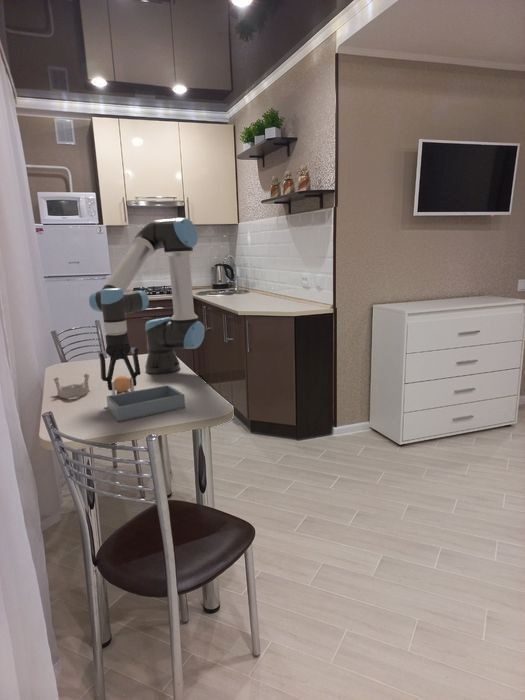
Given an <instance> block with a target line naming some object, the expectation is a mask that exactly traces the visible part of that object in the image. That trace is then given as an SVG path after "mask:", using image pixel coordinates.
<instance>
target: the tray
mask: <svg viewBox="0 0 525 700" xmlns="http://www.w3.org/2000/svg"><path fill="white" fill-rule="evenodd" d="M115 394H116V395H112V394H111V395H107V396H106V402H107V403H106V404H107V407H108V408H107V409H108V411H109V412H110V414H111V415H112V416H113V417H114V418H115V420H116V421H117V422H118V423H122V422H127V421H131V420H134V419H140V418H145V417H149V416H153V415H159V414H163V413H166V412H168V413H169V412H173V411H178V410H181V409H182V410H183V409H185V408H186V402H185V394H184V393H182V391H179V390H178V389H177V388H175V387H174V386H172V385H170V384H165V385H159V386H154V387H149V388H144V389H139V390H134V391H132V392H130V391H129V392H127V393H121V394H117V393H115Z"/></svg>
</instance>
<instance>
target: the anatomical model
mask: <svg viewBox="0 0 525 700" xmlns="http://www.w3.org/2000/svg"><path fill="white" fill-rule="evenodd" d="M83 377H84V381H83V383H82V382H81V383H75V384H69V385H66V386H64V385H62V386H61V384H60V382H59V377H57V376H56V377H54V378H53V379H52V381H54V383H55V387H56V390H57V397H60V398H61V399H67V400H68V399H74V398H81V397H84V396H85V395H86V394H89V392H91V390H90V387H89V377H90V374H88V373H87V372H86V373H85V374H84V375H83Z"/></svg>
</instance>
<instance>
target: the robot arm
mask: <svg viewBox="0 0 525 700" xmlns="http://www.w3.org/2000/svg"><path fill="white" fill-rule="evenodd" d="M198 240H199V237H198V231H197V228H196V226H195V224H194V223H193V221H192V220H190V219H189V218H186V217H173V218H165V219H155V220H152V221H150V222H149V223H147V224H146V225H145V226H144V227H142V228H141V229H140V230H139V231H138V232H137V233H136V235H135V236H134V237H133V239H132V241H131V242H132V245H131V247H130V248H129V249H128V251H127V253H126V254H125V255H124V256H123V258H122V260H121V261H120V263H119V264H118V265H117V267H116V268H115V270H114V271H113V272H112V274H111V275H110V277H109V278H108V279H107V281H106V283H105V284H104V285H103V287H102V288H101V290H99V291H98V290H96V291H94V292H92V293H91V294H90V296H89V297H88V302H89V303H88V304H89V306H90V308H91V309H92V310H93V311H95V312H101V313H102V318H103V326H104V327H103V328H104V333H105V336H104V337H105V344H106V346H105V347H106V348H105V350H104V351H101V352H100V351H99V352H97V355H98V357H99V363H100V366H99V367H100V379H101V380H102V381H103V382H107V390H109V391H111V395H116V394H117V393H116V390H115V385H114V380H113V375H114V372H115V366H116V362H117V361H119V360H123V361H124V363H125V366H126V368H127V370H128V372H129V374H130V376H128V378H129V379H130V382H131V386H130V388H129V392H132V391H135V387H137V376H140V375H141V368H140V363H139V355H138V354H139V348H138V347H136V346H135V347H133V346H130V341H129V334H128V333H127V332H128V325H127V323H128V322H127V314H131V313H132V314H133V313H138V312H139V313H140V312H142V311H145V310H147V308H148V307H149V305H150V301H149V300H150V298H149V296H148V295H147V293H146V291H143V290H133V291H127V290H128V288H129V287H130V285H131V284H132V282H133V280H134V279H135V277H136V276H137V275H138V274H139V271H140V270H141V269H142V267H143V266H144V264H145V262H146V261H147V260H148V258H149V257H151V256H152V255H154V253H156V251H157V250H161V249H163V251H164V254H165V255H166V256H167V257H168V263H169V264H168V265H169V274H170V277H169V278H170V286H171V287H170V288H171V296H172V299H171V300H172V309H173V315H172V316H171V317H169V316H167V317H163V318H162V317H161V318H154V319H150V320H147V321H146V323H145V336H146V337H145V338H146V348H147V358H146V361H145V362H146V363H145V365H144V368H145V373H148V374H152V375H153V374H155V375H156V374H157V375H158V374H160V375H161V374H168V373H174V372H176V371H179V370H180V369H181V364H180V361H179V358H178V357H177V354H176V351H175V349H185V350H186V349H187V350H191V349H194V350H195V349H197V348H199V347H200V346H201V344H202V343H203V341H204V338H205V332H206V331H205V330H206V329H205V326H204V324H203V322H201V321H199V316H198V315H197V314H196V313H195V308H194V296H193V284H192V283H193V282H192V271H191V269H192V268H191V255H192V253H193V252H194V247H195V246H196V245H197V244H198ZM130 352H131V354H132V355H131V356H132V360H133V365H134V369H133V367H132V363H131V362H130V359H129V357H128V355H129V353H130ZM107 355H108V357H110V359H109V366H108V371H107V369H106V368H107V367H106V358H107Z"/></svg>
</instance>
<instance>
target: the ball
mask: <svg viewBox="0 0 525 700" xmlns="http://www.w3.org/2000/svg"><path fill="white" fill-rule="evenodd" d="M113 381H114V385H115V392H117V391H118V392H122V393H123V392H126V391H130V386H131V382H130V379H129V376H126V375H119V376H117V377H115V379H114V380H113Z"/></svg>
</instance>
